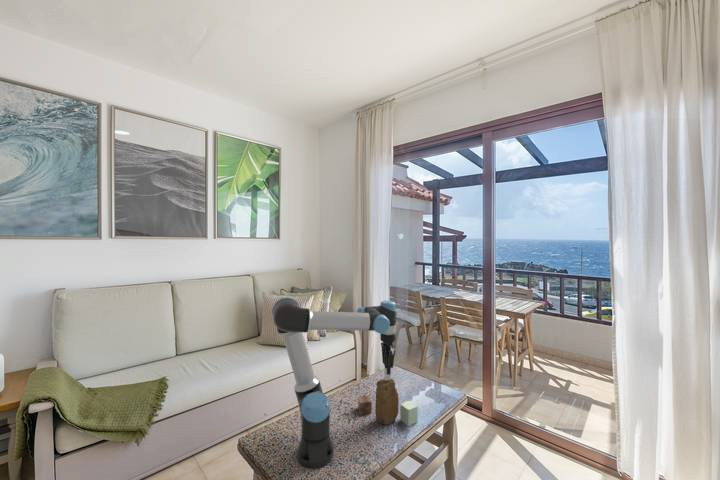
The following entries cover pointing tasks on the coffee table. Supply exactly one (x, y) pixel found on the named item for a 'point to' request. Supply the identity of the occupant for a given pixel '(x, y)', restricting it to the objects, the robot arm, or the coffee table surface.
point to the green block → (408, 413)
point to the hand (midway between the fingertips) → (387, 379)
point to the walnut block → (364, 404)
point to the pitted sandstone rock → (386, 401)
